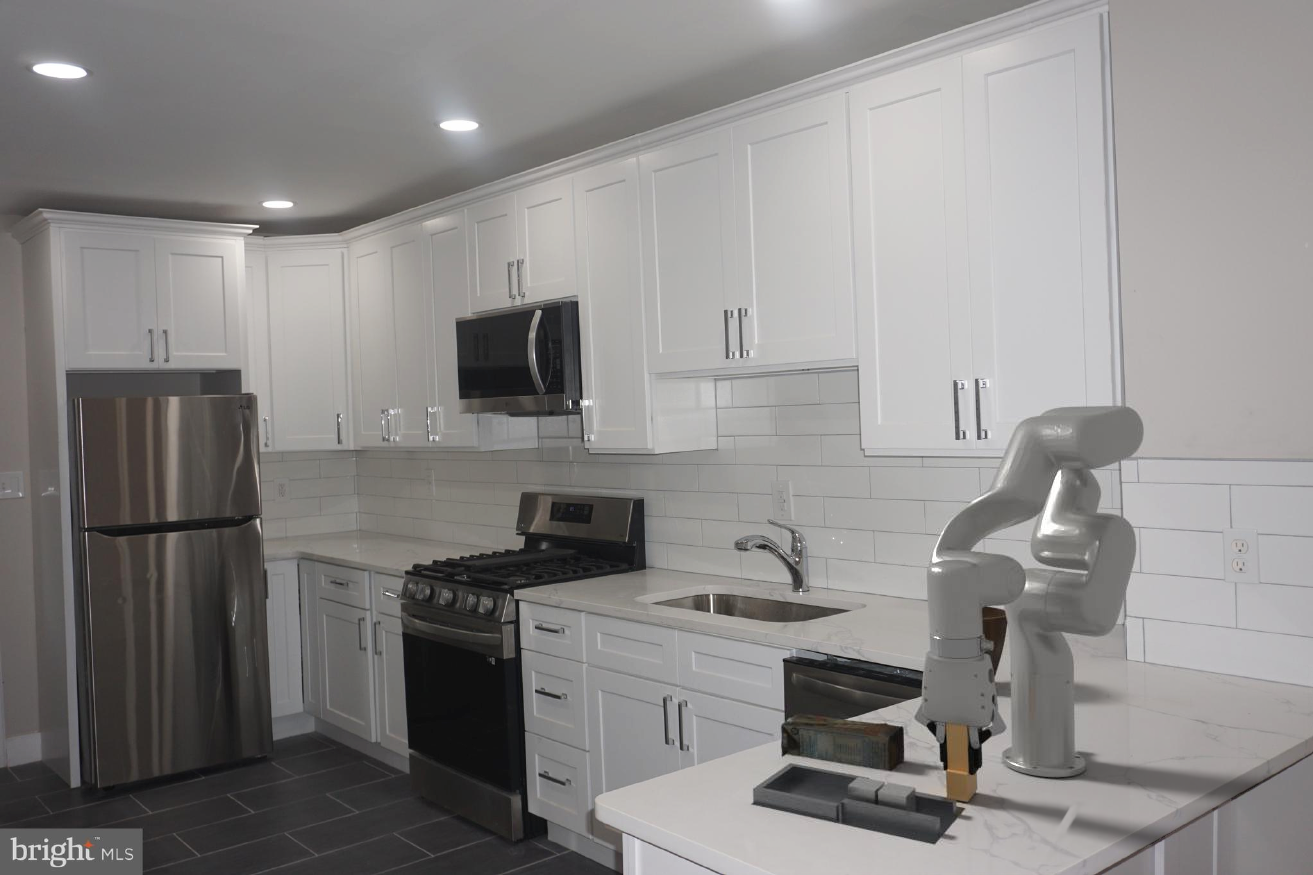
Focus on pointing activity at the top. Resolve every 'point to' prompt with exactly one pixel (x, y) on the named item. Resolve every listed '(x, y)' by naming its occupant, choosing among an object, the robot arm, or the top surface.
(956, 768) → the tan stepped beam
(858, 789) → the chip
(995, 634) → the plant pot
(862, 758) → the beverage carton
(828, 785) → the slot board
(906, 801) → the grey cube
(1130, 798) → the top surface
